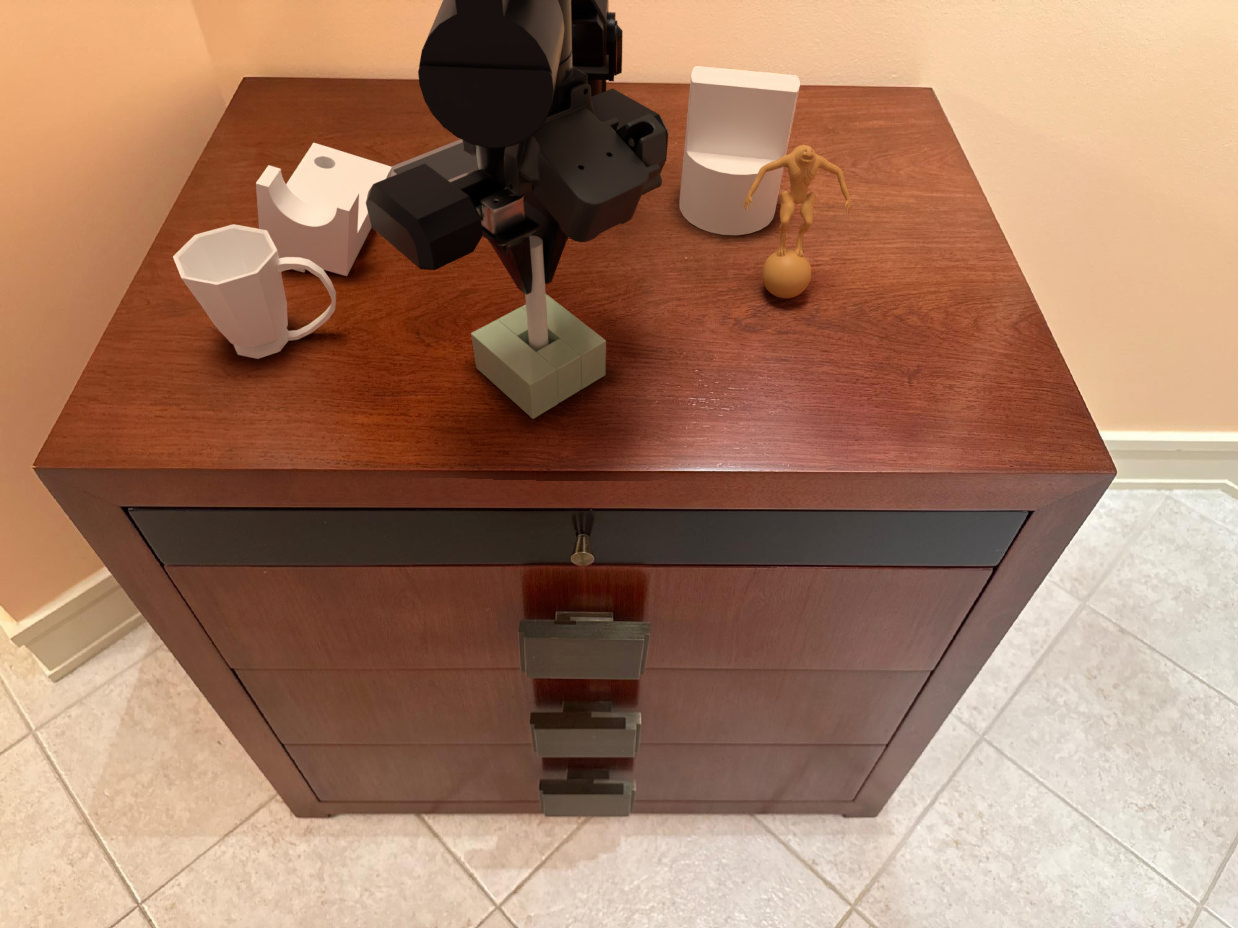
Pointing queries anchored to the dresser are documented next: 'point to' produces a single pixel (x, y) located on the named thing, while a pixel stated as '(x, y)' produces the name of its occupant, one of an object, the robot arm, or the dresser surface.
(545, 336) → the stylus
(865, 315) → the dresser surface
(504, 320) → the pen stand
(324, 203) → the bracket
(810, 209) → the figurine
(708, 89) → the cylinder with rectangular tab
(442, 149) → the tablet
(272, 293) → the cup
